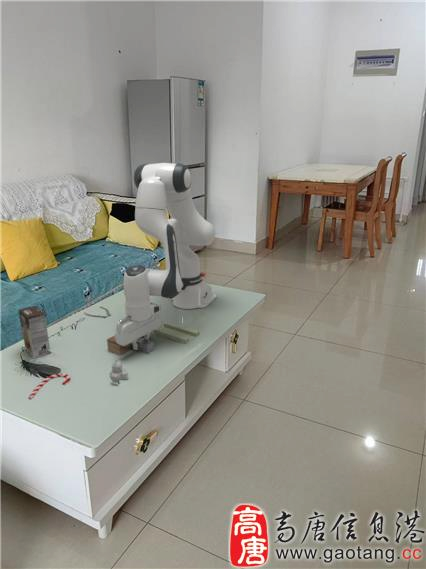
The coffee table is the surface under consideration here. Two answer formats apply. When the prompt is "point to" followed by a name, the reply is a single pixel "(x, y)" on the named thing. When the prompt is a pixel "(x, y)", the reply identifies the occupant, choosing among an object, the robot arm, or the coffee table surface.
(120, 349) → the beam
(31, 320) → the coffee box
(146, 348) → the shaft
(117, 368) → the grey lumpy blob
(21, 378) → the coffee table surface
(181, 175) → the robot arm
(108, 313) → the pliers
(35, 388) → the candy cane
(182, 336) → the cradle
